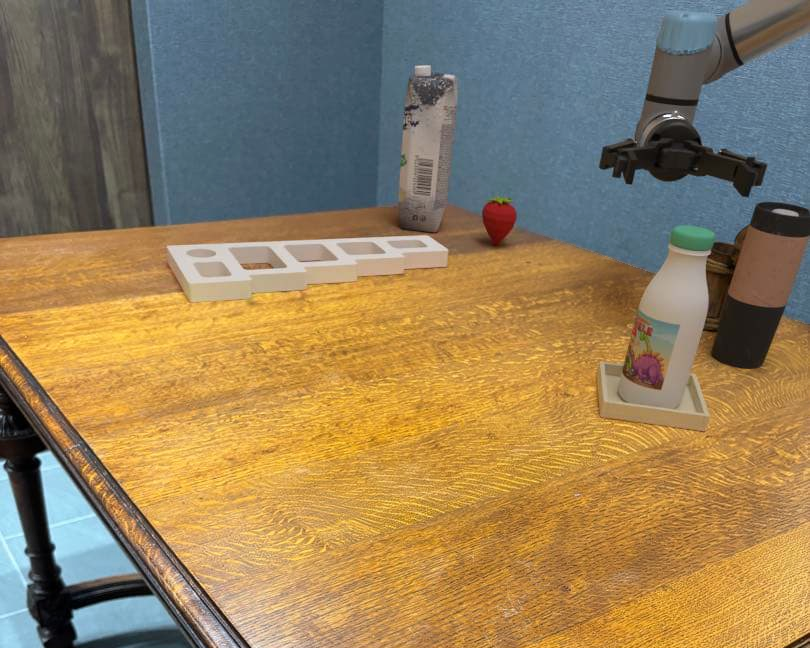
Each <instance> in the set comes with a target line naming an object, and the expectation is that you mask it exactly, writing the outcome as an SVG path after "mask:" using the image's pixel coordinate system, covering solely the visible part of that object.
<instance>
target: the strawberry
mask: <svg viewBox="0 0 810 648" xmlns="http://www.w3.org/2000/svg"><path fill="white" fill-rule="evenodd" d="M497 189H498V191H499V193H500V194H502V192H501V190H500V187H498V188H497ZM484 200H485V201H488V202H486V203H485V204H484V205H483V208H482V210H481V218H482V223H483V225H484V229H485V230H486V233H487V235H488V236H489V239H490V240H491V243H492V245H495V246H499V245H500V244H501V243H502V241H504V239H506V237H508V236H509V234H510V232H511V231H512V230H513V228H514V226H515V224H516V221H517V217H518V215H517V210H516V208H515V207H514V205H512V204H511V203H514V200H512V197H506V198H504V197H502V195H500V196H498V195H496V196H495V197H492V198H485V199H484Z"/></svg>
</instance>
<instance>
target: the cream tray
mask: <svg viewBox="0 0 810 648" xmlns="http://www.w3.org/2000/svg"><path fill="white" fill-rule="evenodd" d="M597 366H598V367H597V371H596V386H597V396H598V397H597V398H598V409H599V417H600V418H604V419H605V418H606V419H613V420H620V421H627V422H633V423H634V422H635V423H640V424H648V425H656V426H661V427H662V426H663V427H670V428H677V429H685V430H691V431H699V432H706V431H707V427H708V424H709V421H710V418H711V415H710V412H709V408H708V406H707V403H706V399H705V397H704V394H703V391H702V388H701V385H700V382H699V379H698V376H697V373H691V372H690V375H689V379H688V382H687V385H686V388H685V392H684V395H683V398H682V401H681V403H680V404H679V405H678V406H677V407H676V408H674V409H668V408H661V407H653V406H646V405H639V404H632V403H628V402H626V401H625V400H624V399H622V397H621V396H620V394H619V391H618V387H619V382H620V378H621V374H622V370H623V366H624V363H617V362H616V363H615V362H609V361H602V360H599V362H598V365H597Z"/></svg>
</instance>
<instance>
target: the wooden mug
mask: <svg viewBox="0 0 810 648" xmlns="http://www.w3.org/2000/svg"><path fill="white" fill-rule="evenodd" d="M749 225H750V223H749V224H748V225H745V227H743V228H742V229H741V230H740V231H739V232H738V233H737V234H736V236H735V238H734V240H733V243H729V242H723V241H714V244H713V247H712V249H711V254H710V255H708V257H707V260H706V281H707V288H708V298H709V302H708V311H707V316H706V320H705V324H704V328H703V331H709V332H717V329H718V326H719V322H720V318H721V315H722V311H723V308H724V304H725V300H726V297H727V294H728V290H729V287H730V284H731V281H732V278H733V274H734V271H735V268H736V265H737V262H738V259H739V256H740V253H741V250H742V247H743V243H744V240H745V237H746V234H747V231H748V228H749Z"/></svg>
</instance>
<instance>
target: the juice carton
mask: <svg viewBox="0 0 810 648" xmlns="http://www.w3.org/2000/svg"><path fill="white" fill-rule="evenodd" d="M406 87H407V88H406V93H405V99H404V108H403V109H404V111H403V122H402V123H403V125H402V138H401V139H402V140H401V153H400V154H401V155H400V166H399V167H400V170H399V183H398V198H397V199H398V201H397V213H398V221H399V228H400V229H401V230H402V229H403V230H408V231H409V230H410V231H417V232H426V233H437V232H438V231H439V229H440V226H441V223H442V221H443V218H444V216H445V212H446V209H447V204H448V198H449V188H450V178H451V169H452V158H453V149H454V140H455V129H456V128H455V127H456V119H457V108H458V107H457V106H458V77H457V75H455V74H448V73H441V72H432V66H431V65H415V66H414V73H413V75H410V76H409V77H408V82H407V86H406Z"/></svg>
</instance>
